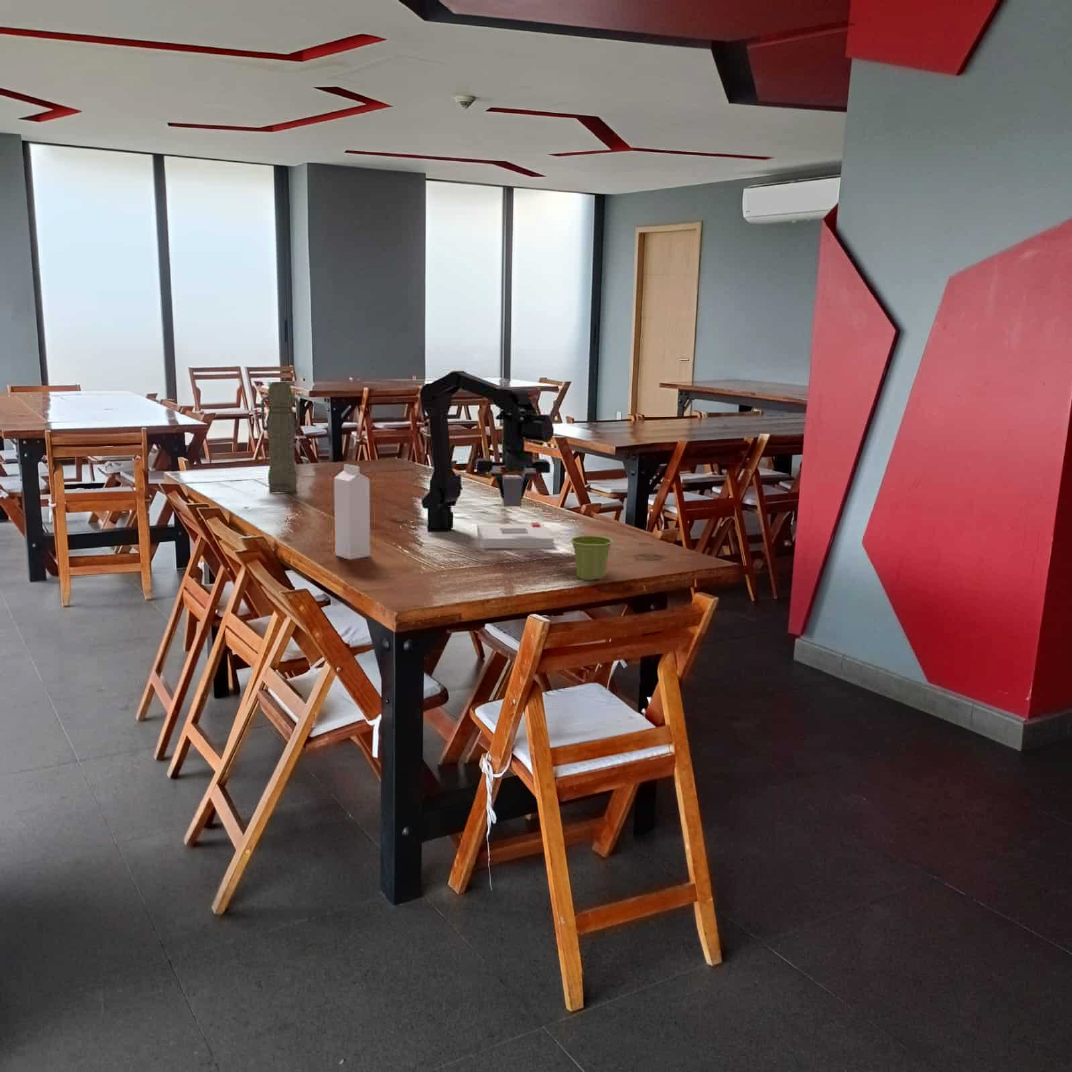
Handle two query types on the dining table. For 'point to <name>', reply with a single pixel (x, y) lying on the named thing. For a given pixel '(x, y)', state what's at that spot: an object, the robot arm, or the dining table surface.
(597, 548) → the plant pot
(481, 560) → the dining table surface
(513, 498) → the plug
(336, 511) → the milk
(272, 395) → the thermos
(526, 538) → the socket plate
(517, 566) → the dining table surface
